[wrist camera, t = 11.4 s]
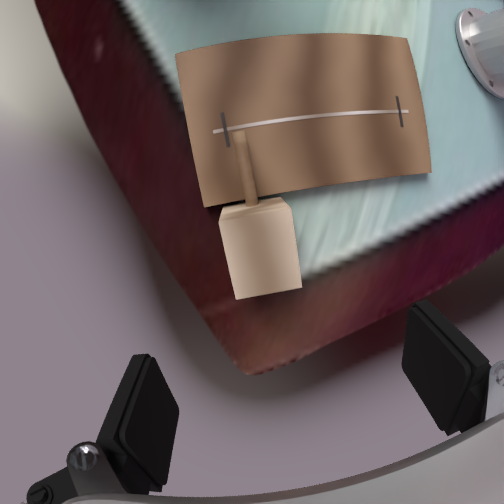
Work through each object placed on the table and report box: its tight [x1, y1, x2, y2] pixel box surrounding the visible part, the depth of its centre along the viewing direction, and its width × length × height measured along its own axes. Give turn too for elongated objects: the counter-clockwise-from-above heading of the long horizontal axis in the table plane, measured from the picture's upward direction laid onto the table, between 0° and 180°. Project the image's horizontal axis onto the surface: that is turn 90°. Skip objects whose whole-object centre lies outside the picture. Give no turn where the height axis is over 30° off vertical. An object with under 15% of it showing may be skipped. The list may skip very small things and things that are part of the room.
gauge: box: [219, 131, 302, 300], centre depth 23 cm, size 5×12×6 cm, turn 10°
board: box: [175, 33, 432, 207], centre depth 23 cm, size 22×14×1 cm, turn 100°
